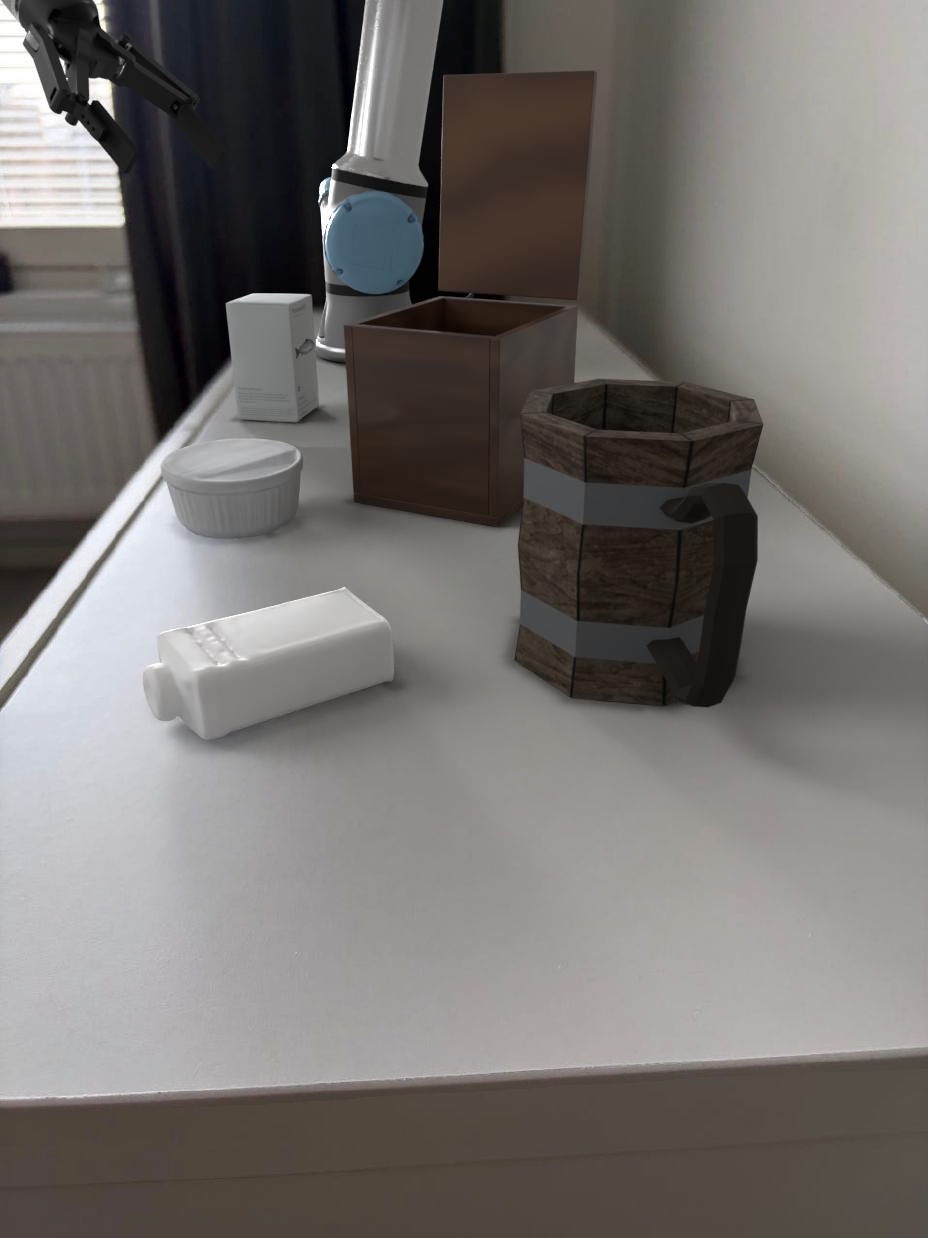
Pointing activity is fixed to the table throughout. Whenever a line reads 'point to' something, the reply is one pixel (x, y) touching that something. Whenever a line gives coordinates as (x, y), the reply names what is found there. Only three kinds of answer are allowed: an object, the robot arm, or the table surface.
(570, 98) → the lid
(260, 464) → the ramekin
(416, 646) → the table surface
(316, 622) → the white bottle
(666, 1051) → the table surface
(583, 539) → the mug
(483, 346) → the chest
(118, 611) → the table surface
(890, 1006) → the table surface
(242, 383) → the white packaging box
